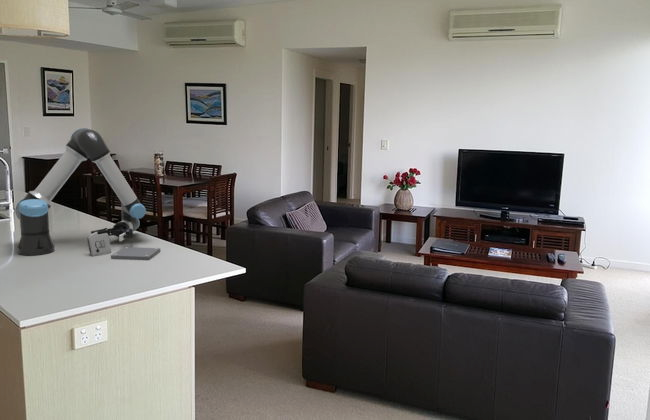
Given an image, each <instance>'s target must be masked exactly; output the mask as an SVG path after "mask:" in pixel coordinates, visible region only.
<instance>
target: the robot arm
mask: <svg viewBox="0 0 650 420" xmlns="http://www.w3.org/2000/svg"><path fill="white" fill-rule="evenodd" d="M87 160H90V161H91V163H95V164H96V166H97V167H98V169H99V170H100V172H101V174H102V175H103V177H104V178H105V180H106V181H107V183H108V184H109V186H110V188H111V189H112V190H113V192H114V193H115V194H116V196H117V197H118V200H119V201H120V204H121V205H120V206H121V207H120V208H121V221H118V222H116V223H115V224H114V225H113V227H111V228H107V227H105V228H101V229H96V230H91V232H90V235H89V236H92V235H98V234H104V233H107V234H108V236H109V237H111V236H114V237H117V238H118V240H119V242H122V241H124V240H126V239H129V238H131V239H134V232H135V231H136V230H137V229H138V228H139V227H140V220H139V219H142V218H143V217H144V216H145V215H146V212H147V209H146V207H145V206H144V204H142V203H141V201H140V200H139V198H138V197H137V195H136V193H135V192H134V191H133V189H132V188H131V186H130V184H129V183H128V182H127V180H126V178H125V177H124V175H123V173H122V172H121V170H120V169H119V167H118V165H117V163H116V162H115V161H114V159H113V158H112V156H111V151H110V149H109V147H108V145H107V144H106V142H105V141H104V138H103V137H102V135H101V134H100V132H99V131H97V130H94V129H90V128H87V127H86V128H79V129H77V130H74V132H73V133H72V134H71V136H70V139H69V140H68V141H67V143H66V145H65V151H64V152H63V153H62V155H61V156H60V158H59V159H58V160H57V161H56V163H55V164H54V165H53V166H52V168H51V169H50V170H49V171H48V173H46V175H45V176H44V178H43V179H42V180H41V182H40V183H39V185H38V186H37V187H35V189H34V190H30V191H28V192H27V194H26V195H25V196H24V197H23V198H22V199H21V200H19V201H18V202H17V204H16V205H15V209H14V210H15V211H14V212H15V215H16V218H17V219H18V220H19V227H20V238H19V242H18V245H17V254H18V255H22V256H39V255H46V254H50V253H53V252H54V251H55V243H54V240H53V239H52V237H51V235H50V220H49V210H50V208H51V207H52V200H53V199H54V198H55V196H56V195H57V194H58V192H59V191H60V190H61V188H63V186H64V185H65V184H66V182H67V181H68V179H69V178H70V177H71V175H72V174H73V173H74V172H75V171H76V169H77V168H78V167H79V165H80V164H81V163H82V162H84V161H87Z"/></svg>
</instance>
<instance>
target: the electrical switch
mask: <svg viewBox="0 0 650 420" xmlns="http://www.w3.org/2000/svg"><path fill="white" fill-rule="evenodd" d="M86 240H87V246H88V250H89V255H91V256H92V257H94V256H102V255H106V254H110V253H111V252H112V248H111V241H110V236H108V234H107V233H104V234H98V235H92V236H90V235H88V237H87V238H86Z"/></svg>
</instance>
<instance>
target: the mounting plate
mask: <svg viewBox="0 0 650 420" xmlns="http://www.w3.org/2000/svg"><path fill="white" fill-rule="evenodd" d="M160 252H161V247H133V246H130V247H129V246H124V247H123V248H121V249H119V250H117V251H116V252H115V253H113V254H111V255H110V259H111V260H133V261H134V260H135V261H136V260H137V261H150V260H151V259H153V258H154V257H155V256H156V255H158V254H159V253H160Z"/></svg>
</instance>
